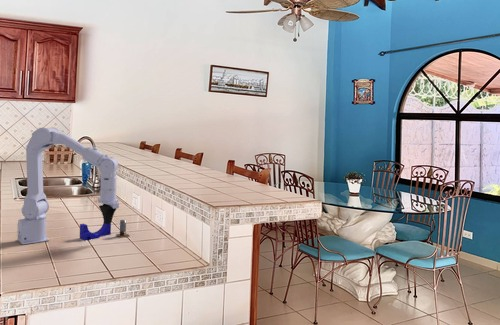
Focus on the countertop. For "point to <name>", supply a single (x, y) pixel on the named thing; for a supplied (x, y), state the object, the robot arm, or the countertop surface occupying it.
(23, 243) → the robot arm
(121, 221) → the post
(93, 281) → the countertop surface
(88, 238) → the cable clip
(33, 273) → the countertop surface
